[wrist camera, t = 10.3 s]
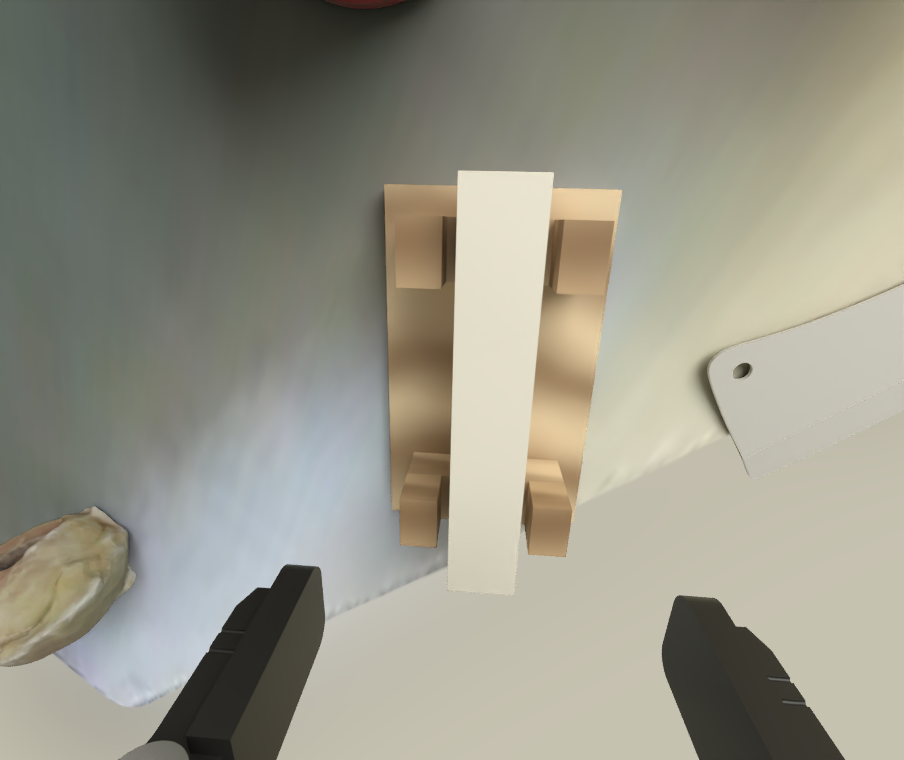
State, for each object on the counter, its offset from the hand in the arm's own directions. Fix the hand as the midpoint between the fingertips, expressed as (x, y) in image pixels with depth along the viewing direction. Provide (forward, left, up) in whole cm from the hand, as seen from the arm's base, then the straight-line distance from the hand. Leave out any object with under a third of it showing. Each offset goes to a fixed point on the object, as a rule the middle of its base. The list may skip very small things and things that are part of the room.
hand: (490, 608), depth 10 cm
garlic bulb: (-30, -16, -18) cm, 39 cm away
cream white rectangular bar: (0, 0, -14) cm, 14 cm away
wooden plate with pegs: (0, 0, -18) cm, 18 cm away
